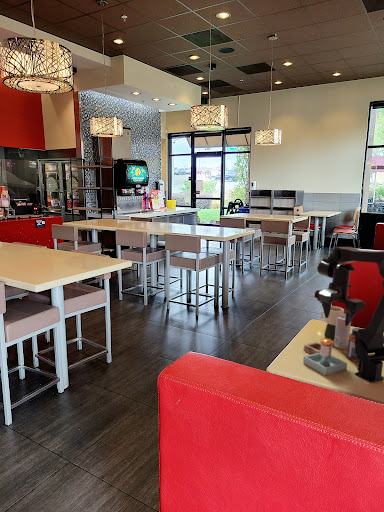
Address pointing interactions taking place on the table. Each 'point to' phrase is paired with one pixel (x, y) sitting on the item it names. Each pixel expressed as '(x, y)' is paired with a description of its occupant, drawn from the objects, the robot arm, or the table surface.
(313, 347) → the wooden square frame
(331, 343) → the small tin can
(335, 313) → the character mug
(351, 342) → the supplement bottle
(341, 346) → the energy drink
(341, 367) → the tray
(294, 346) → the table surface
